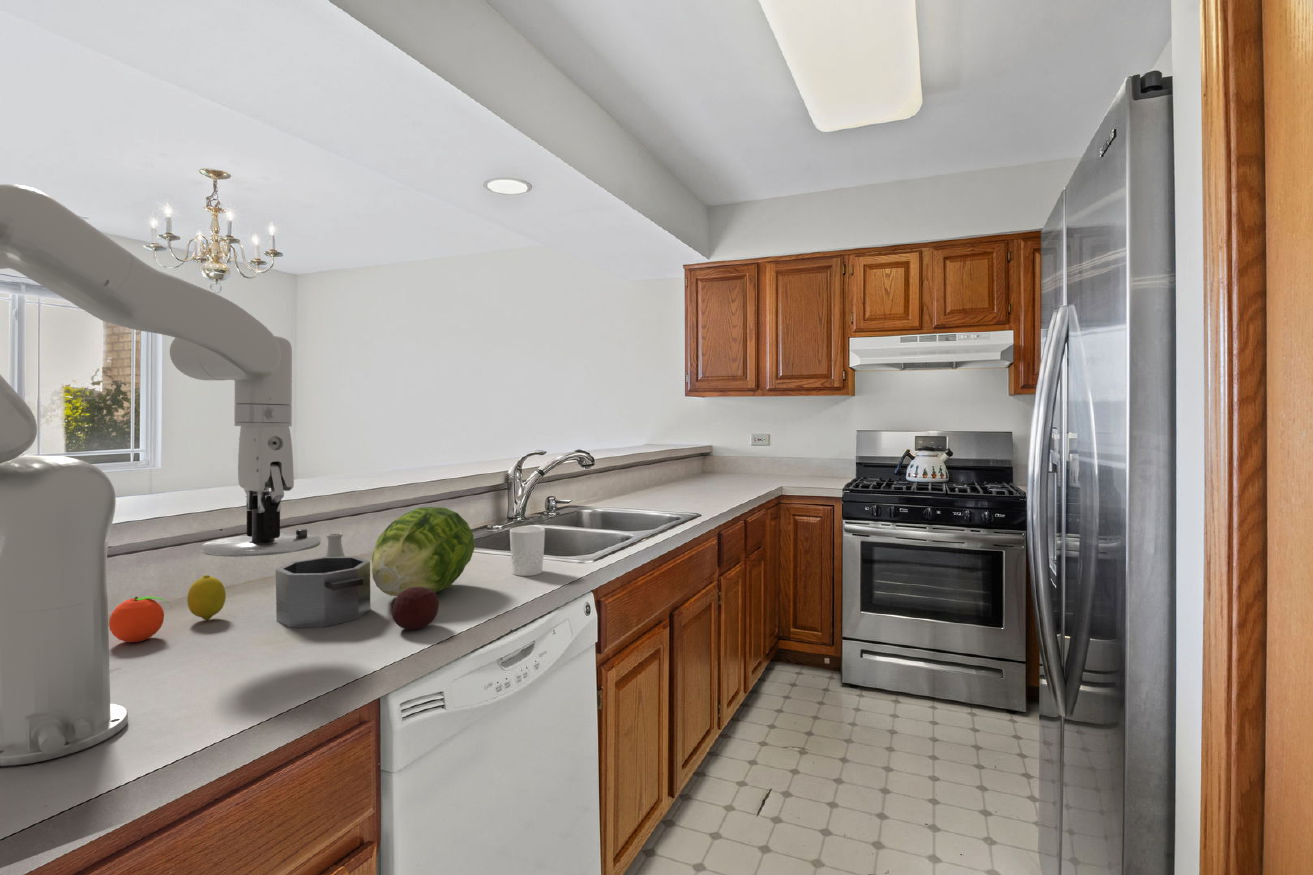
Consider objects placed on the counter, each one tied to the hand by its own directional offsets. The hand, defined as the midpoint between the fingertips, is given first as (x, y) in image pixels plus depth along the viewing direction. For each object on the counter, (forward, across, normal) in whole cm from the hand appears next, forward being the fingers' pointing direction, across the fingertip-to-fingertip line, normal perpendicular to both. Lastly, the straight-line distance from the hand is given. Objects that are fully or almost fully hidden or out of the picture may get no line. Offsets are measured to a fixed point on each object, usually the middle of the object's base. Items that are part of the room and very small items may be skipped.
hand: (263, 535), depth 101 cm
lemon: (+18, +24, +1) cm, 29 cm away
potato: (+18, -8, -21) cm, 28 cm away
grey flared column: (+17, +35, -26) cm, 47 cm away
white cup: (+17, +9, -58) cm, 61 cm away
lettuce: (+17, +10, -32) cm, 38 cm away
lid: (+2, 0, 0) cm, 2 cm away
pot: (+17, +11, -14) cm, 25 cm away
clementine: (+18, +20, +11) cm, 29 cm away
